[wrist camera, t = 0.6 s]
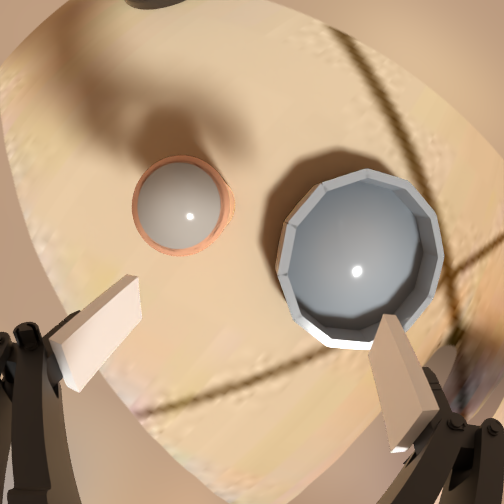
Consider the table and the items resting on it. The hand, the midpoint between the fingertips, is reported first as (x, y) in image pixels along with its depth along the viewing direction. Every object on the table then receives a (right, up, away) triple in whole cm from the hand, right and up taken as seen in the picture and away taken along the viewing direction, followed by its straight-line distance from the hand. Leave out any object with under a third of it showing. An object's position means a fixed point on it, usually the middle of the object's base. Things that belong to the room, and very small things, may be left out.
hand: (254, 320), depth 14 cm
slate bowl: (+13, +3, +19) cm, 23 cm away
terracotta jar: (-5, +9, +18) cm, 21 cm away
